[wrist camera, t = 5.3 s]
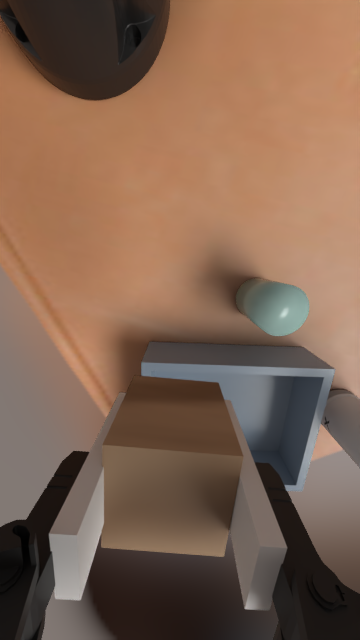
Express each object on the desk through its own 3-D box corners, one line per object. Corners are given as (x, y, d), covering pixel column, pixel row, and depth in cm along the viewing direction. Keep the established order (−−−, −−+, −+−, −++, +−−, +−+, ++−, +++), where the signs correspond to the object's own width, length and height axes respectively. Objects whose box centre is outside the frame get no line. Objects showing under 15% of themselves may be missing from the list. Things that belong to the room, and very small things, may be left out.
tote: (149, 341, 28) (141, 362, 22) (303, 347, 28) (335, 369, 22) (150, 446, 33) (143, 485, 27) (280, 450, 33) (302, 491, 27)
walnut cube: (134, 375, 12) (102, 444, 7) (218, 382, 12) (243, 456, 7) (131, 445, 13) (101, 547, 8) (208, 452, 13) (223, 556, 8)
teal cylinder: (236, 278, 25) (259, 285, 18) (277, 277, 25) (313, 284, 18) (234, 317, 27) (253, 336, 20) (272, 316, 27) (304, 335, 20)
